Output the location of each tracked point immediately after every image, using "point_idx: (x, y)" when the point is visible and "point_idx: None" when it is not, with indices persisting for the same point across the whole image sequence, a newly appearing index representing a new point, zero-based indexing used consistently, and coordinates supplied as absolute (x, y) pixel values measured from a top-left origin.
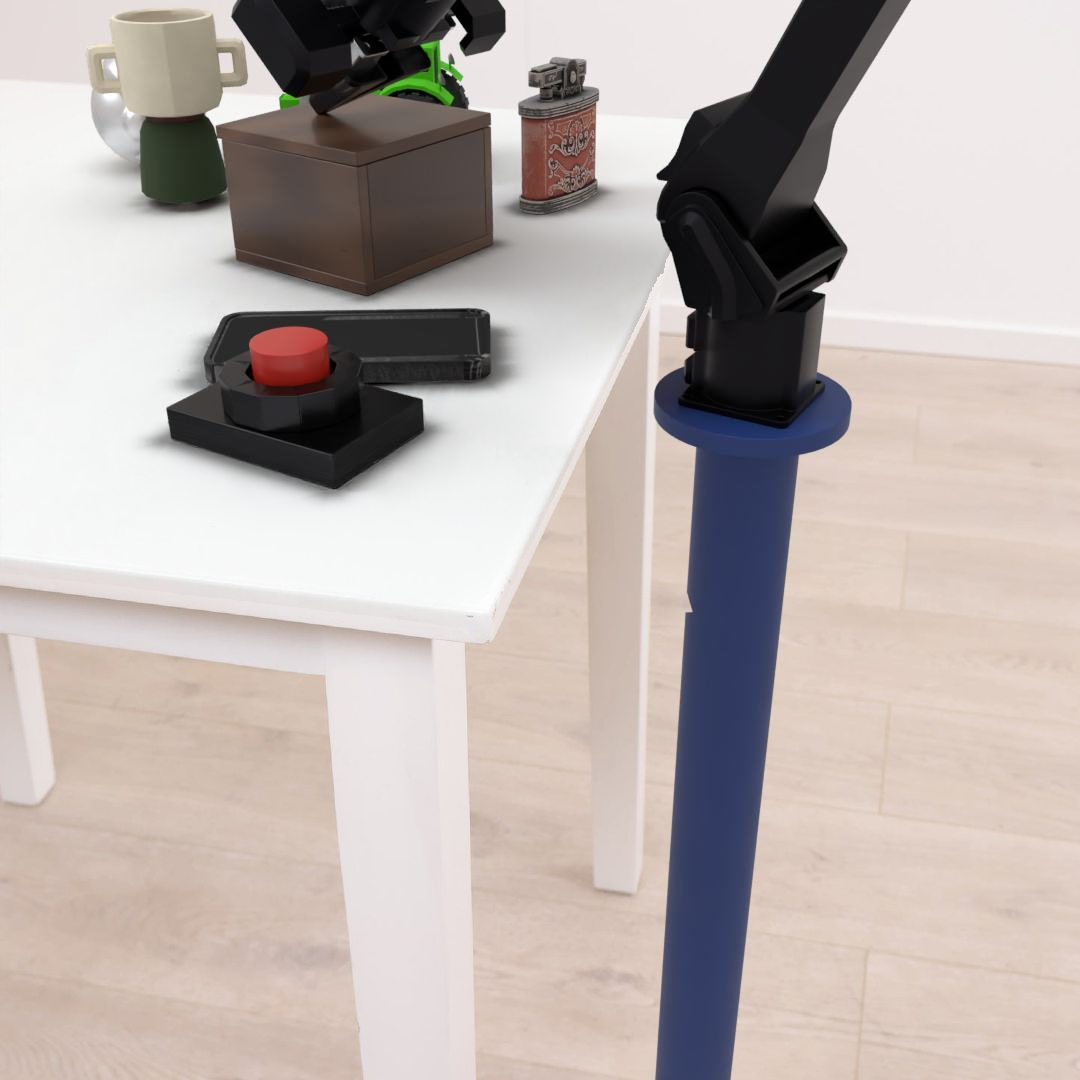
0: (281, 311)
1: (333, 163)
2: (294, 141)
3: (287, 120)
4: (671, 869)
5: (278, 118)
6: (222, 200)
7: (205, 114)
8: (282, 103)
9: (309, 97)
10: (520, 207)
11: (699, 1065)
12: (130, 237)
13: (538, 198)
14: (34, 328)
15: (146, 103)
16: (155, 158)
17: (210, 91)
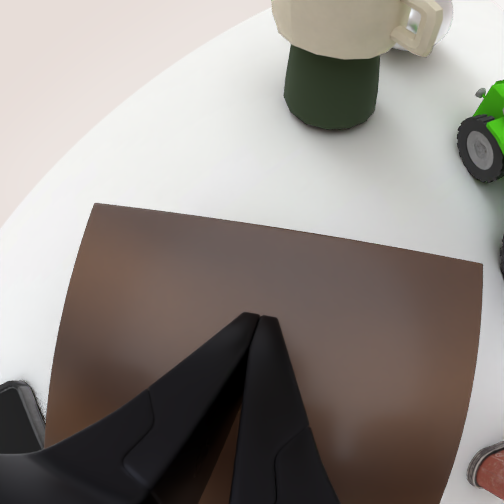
0: (32, 422)
1: None
2: (47, 404)
3: (165, 307)
4: None
5: (175, 276)
6: (351, 128)
7: (439, 35)
8: (492, 89)
9: (236, 317)
10: (476, 456)
11: None
12: (201, 130)
13: (477, 482)
14: (10, 231)
15: (274, 15)
16: (288, 63)
17: (352, 41)
